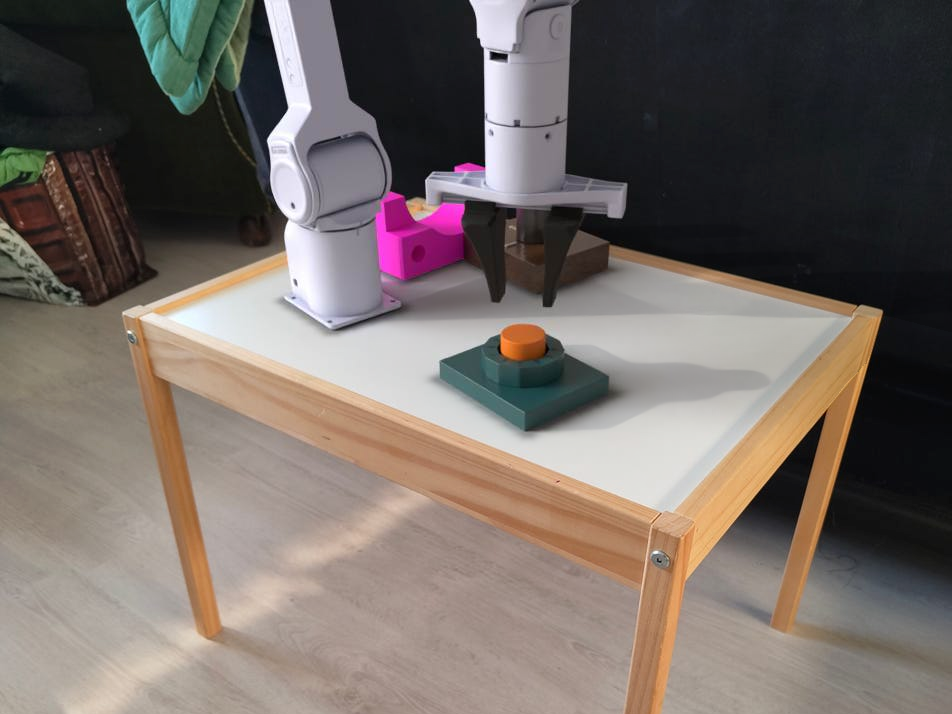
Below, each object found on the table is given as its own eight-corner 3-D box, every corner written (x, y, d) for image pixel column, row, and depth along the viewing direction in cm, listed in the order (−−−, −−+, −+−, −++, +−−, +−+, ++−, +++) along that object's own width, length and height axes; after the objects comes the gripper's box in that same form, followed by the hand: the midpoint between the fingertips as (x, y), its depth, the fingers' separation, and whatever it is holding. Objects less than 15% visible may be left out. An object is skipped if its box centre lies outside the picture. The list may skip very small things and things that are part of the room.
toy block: (404, 280, 92) (399, 208, 88) (367, 264, 96) (360, 194, 92) (507, 242, 100) (507, 174, 96) (470, 228, 104) (468, 162, 100)
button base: (439, 378, 76) (437, 341, 74) (520, 346, 80) (521, 310, 78) (524, 432, 69) (525, 392, 66) (608, 394, 73) (611, 355, 71)
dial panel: (463, 260, 97) (462, 231, 95) (533, 238, 102) (533, 210, 100) (536, 295, 89) (537, 264, 87) (608, 269, 94) (610, 240, 92)
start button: (491, 351, 73) (491, 332, 72) (525, 338, 75) (525, 319, 74) (520, 367, 70) (520, 347, 69) (554, 354, 72) (555, 334, 71)
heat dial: (533, 246, 91) (534, 205, 89) (508, 236, 94) (508, 195, 92) (562, 237, 93) (563, 196, 91) (537, 227, 96) (538, 187, 94)
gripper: (637, 107, 64) (622, 287, 71) (441, 99, 67) (448, 272, 74) (625, 133, 58) (611, 325, 66) (412, 123, 61) (423, 307, 69)
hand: (523, 299), depth 70 cm, fingers open, 3 cm apart
